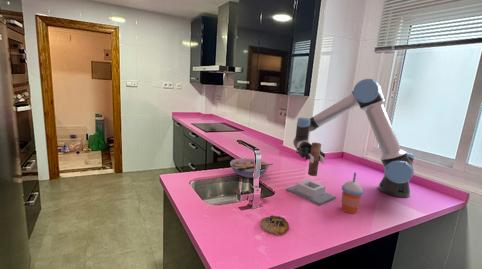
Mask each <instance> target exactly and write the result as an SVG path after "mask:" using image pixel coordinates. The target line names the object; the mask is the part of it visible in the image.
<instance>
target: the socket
mask: <svg viewBox="0 0 482 269" xmlns="http://www.w3.org/2000/svg"><path fill="white" fill-rule="evenodd" d="M326 187H327V186H325V185H324V184H321V183H318V182H316V181H313V180H310V179H306V180H305V181H301V182H299V183H297V184H295V185H293V186H290V187H286V189H285V191H286V192H289V193H291V194H293V195H295V196H298V197H300V198H302V199H304V200H306V201H308V202H311V203H313V204H314V205H316V206H319V207H320V206H323V205H325V204H327V203H329V202H331V201H333V200H335V199H336V195H333V194H331V193H329V192H326Z"/></svg>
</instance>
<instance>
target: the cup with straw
mask: <svg viewBox="0 0 482 269" xmlns="http://www.w3.org/2000/svg"><path fill="white" fill-rule="evenodd" d="M356 178H357V172H353V178H352V180H348V181H347V182H345V183H344V184H343V185H342V186H341V190H342V193H341V210H342V211H344V212H345V213H348V214H356V213H357V210H358V208H359V206H360V203H361V200H362V199H361V198H362V195H364V192H365V191H364V189H363V187H362V185H361V184H360V183H359V182H357V181H356Z"/></svg>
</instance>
